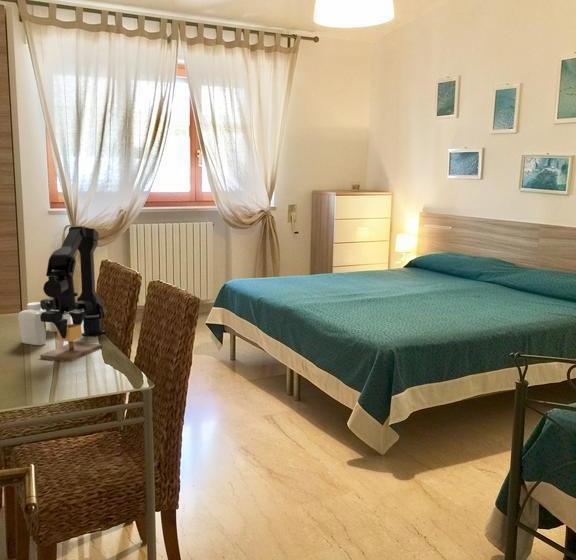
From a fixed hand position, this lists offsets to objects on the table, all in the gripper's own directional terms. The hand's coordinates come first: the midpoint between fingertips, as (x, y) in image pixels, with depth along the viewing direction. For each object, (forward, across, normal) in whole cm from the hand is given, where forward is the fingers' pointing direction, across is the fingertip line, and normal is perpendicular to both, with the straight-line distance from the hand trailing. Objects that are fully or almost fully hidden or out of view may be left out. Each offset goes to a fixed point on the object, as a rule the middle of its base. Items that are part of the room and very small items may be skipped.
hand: (70, 335), depth 205 cm
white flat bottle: (+6, -4, -22) cm, 23 cm away
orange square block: (+1, 0, 0) cm, 1 cm away
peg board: (+6, 0, 0) cm, 6 cm away
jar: (+6, -22, -27) cm, 35 cm away
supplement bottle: (+6, -11, -27) cm, 30 cm away
